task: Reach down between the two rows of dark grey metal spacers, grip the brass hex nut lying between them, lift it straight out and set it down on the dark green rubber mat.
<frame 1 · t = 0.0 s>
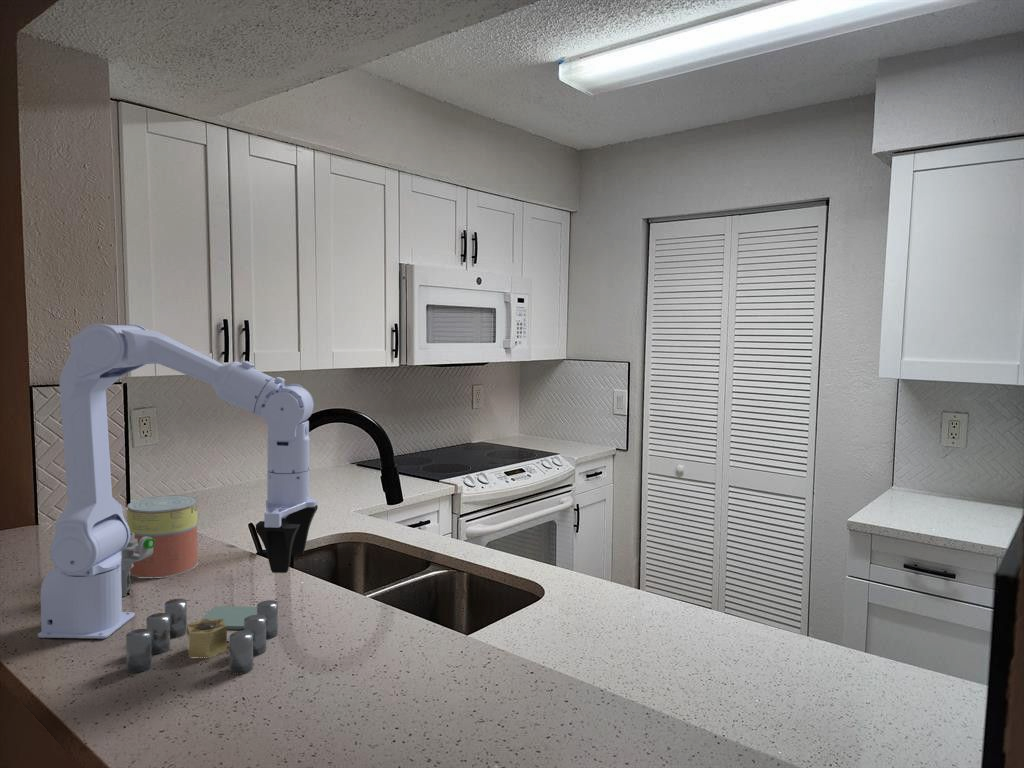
hand: (288, 562, 98), 10 cm above the table, tool pointing down, fingers open, 7 cm apart
brass nut: (207, 650, 92), on the table
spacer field: (207, 650, 92), on the table
green mat: (235, 619, 102), on the table
canned food: (163, 568, 123), on the table
mechanical component: (124, 596, 110), on the table
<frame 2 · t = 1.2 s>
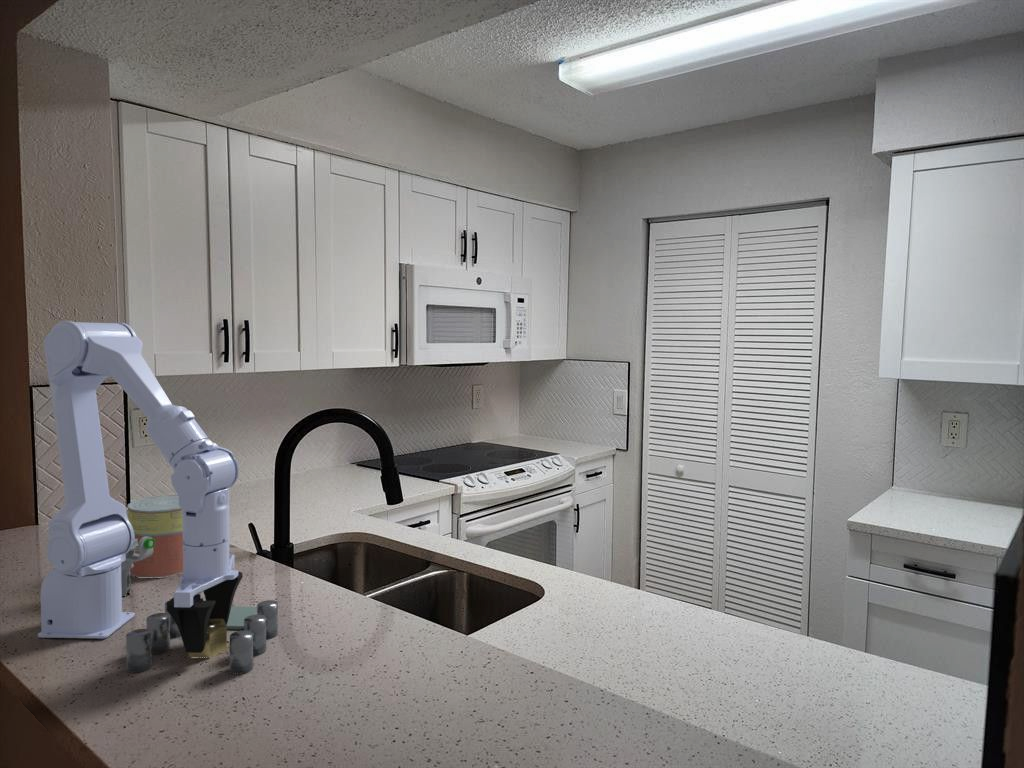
hand: (207, 638, 92), 2 cm above the table, tool pointing down, fingers open, 7 cm apart
nothing on the table moved.
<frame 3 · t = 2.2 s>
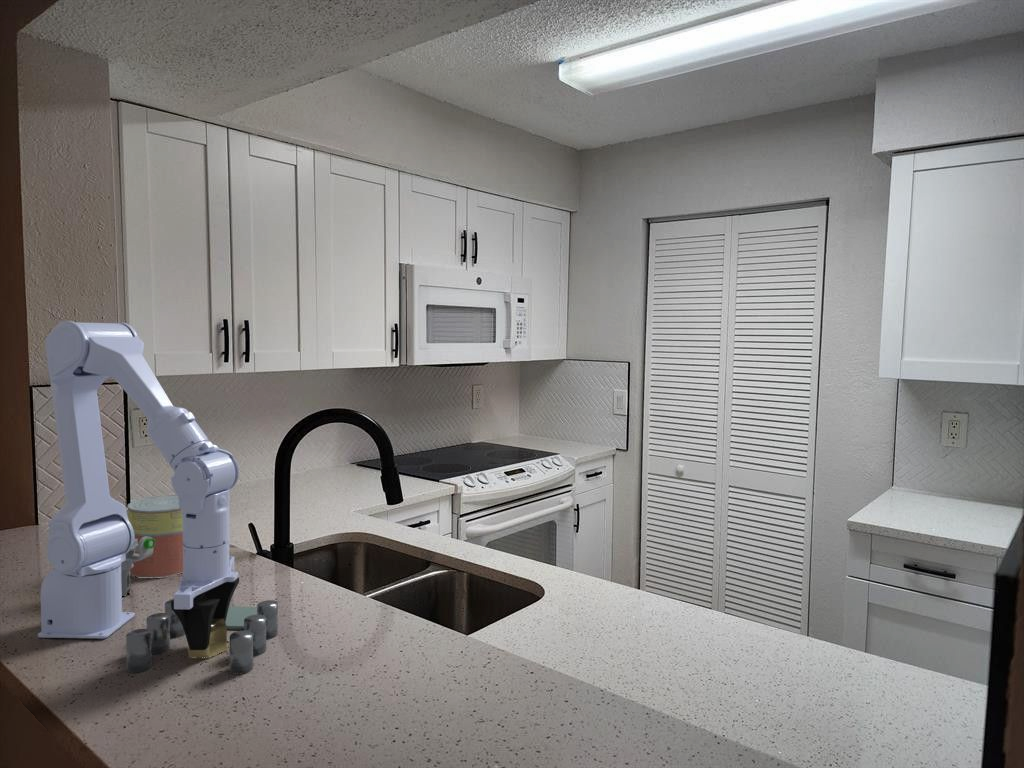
hand: (207, 640, 92), 1 cm above the table, tool pointing down, fingers closed on brass nut, 5 cm apart
brass nut: (207, 650, 92), on the table, touching gripper
everything else where it was.
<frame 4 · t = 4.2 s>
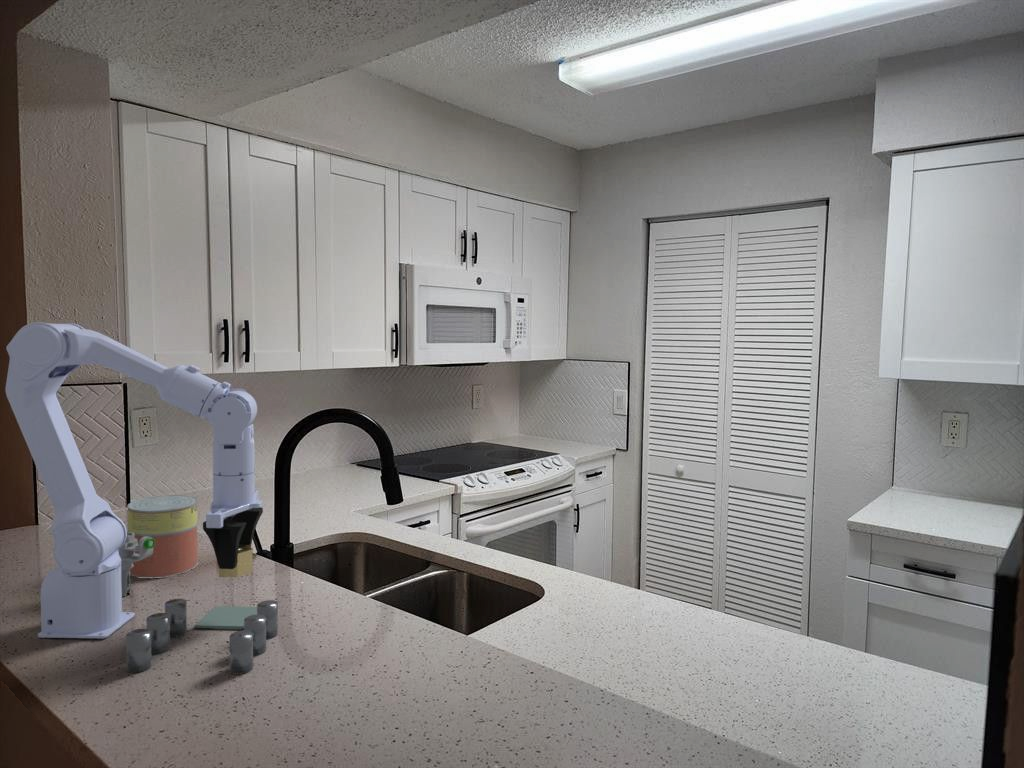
hand: (234, 562, 101), 9 cm above the table, tool pointing down, fingers closed on brass nut, 5 cm apart
brass nut: (234, 571, 101), point 7 cm above the table, touching gripper
everything else where it was.
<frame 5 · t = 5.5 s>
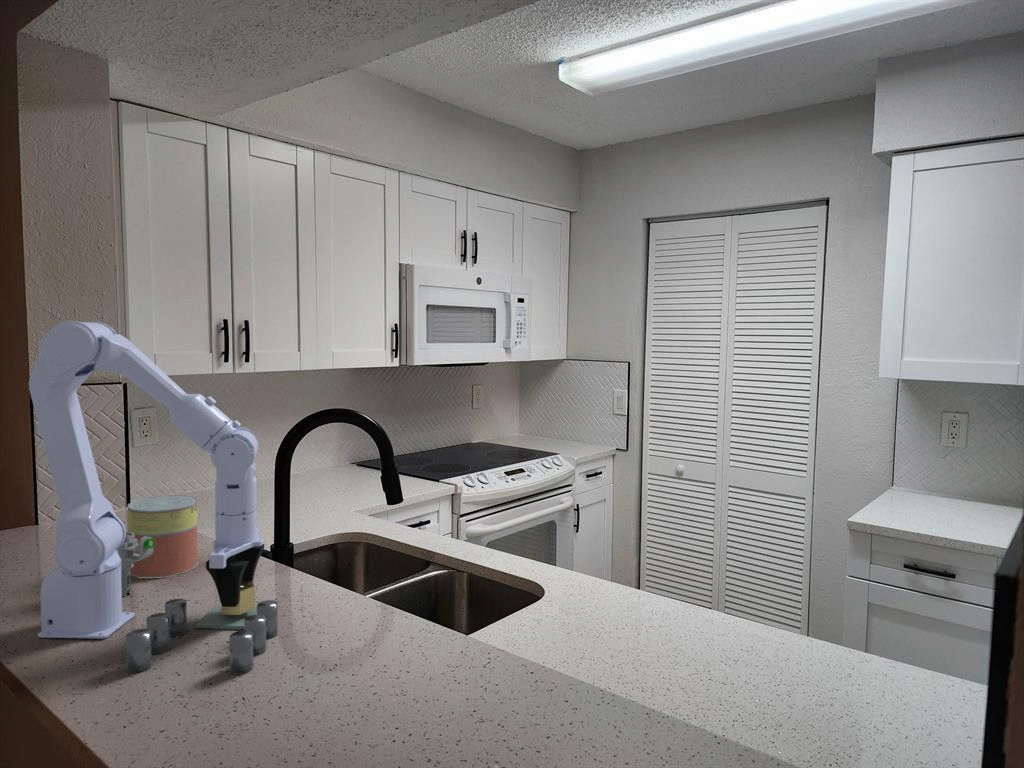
hand: (236, 599, 102), 3 cm above the table, tool pointing down, fingers closed on brass nut, 5 cm apart
brass nut: (236, 608, 102), point 1 cm above the table, touching gripper
everything else where it was.
when the fingers open (3 cm above the table, at t = 6.3 s): brass nut stays where it is, resting on green mat.
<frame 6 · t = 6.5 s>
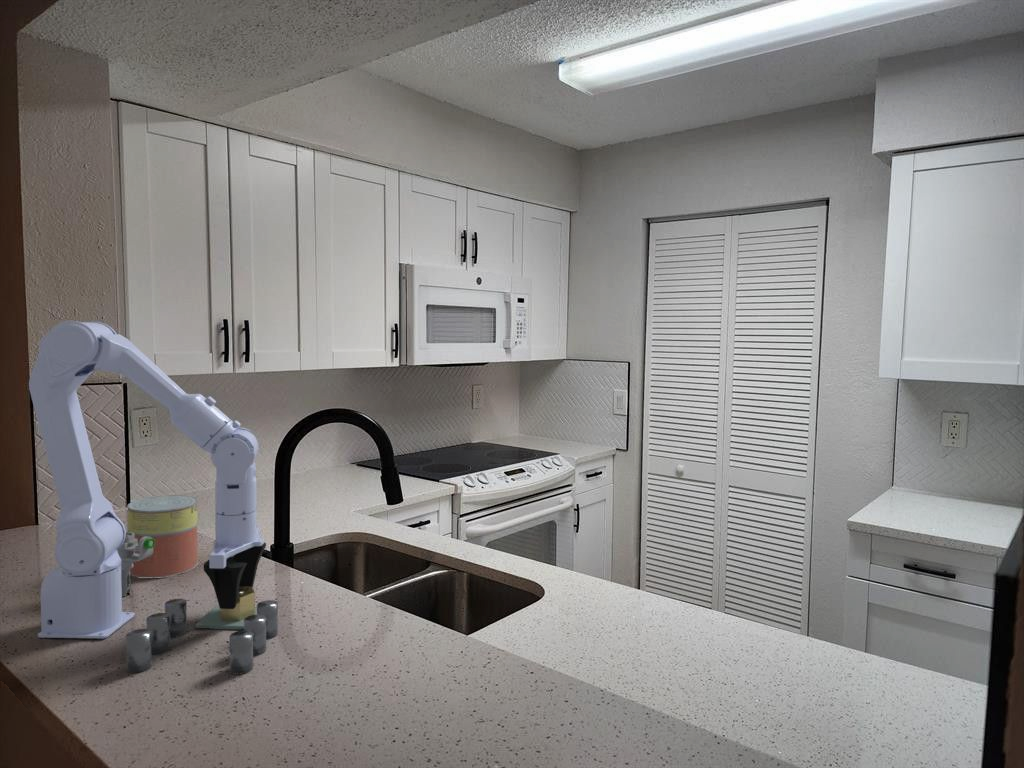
hand: (236, 599, 102), 3 cm above the table, tool pointing down, fingers open, 6 cm apart
brass nut: (237, 614, 103), resting on green mat
everything else where it was.
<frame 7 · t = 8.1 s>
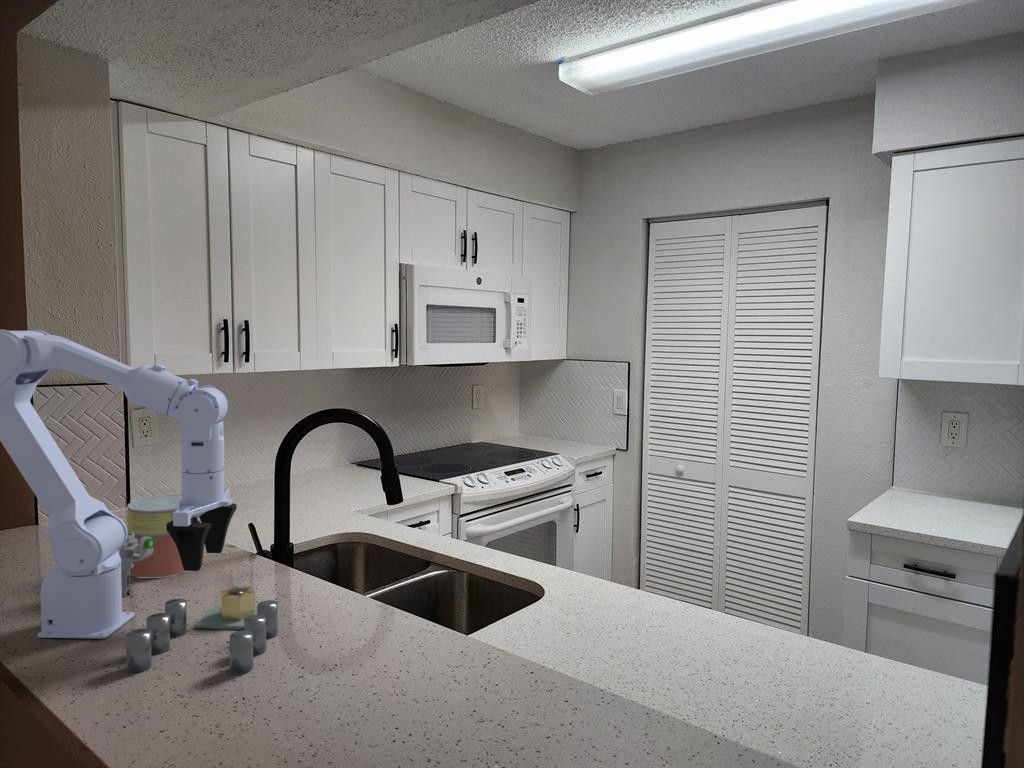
hand: (203, 561, 100), 9 cm above the table, tool pointing down, fingers open, 7 cm apart
nothing on the table moved.
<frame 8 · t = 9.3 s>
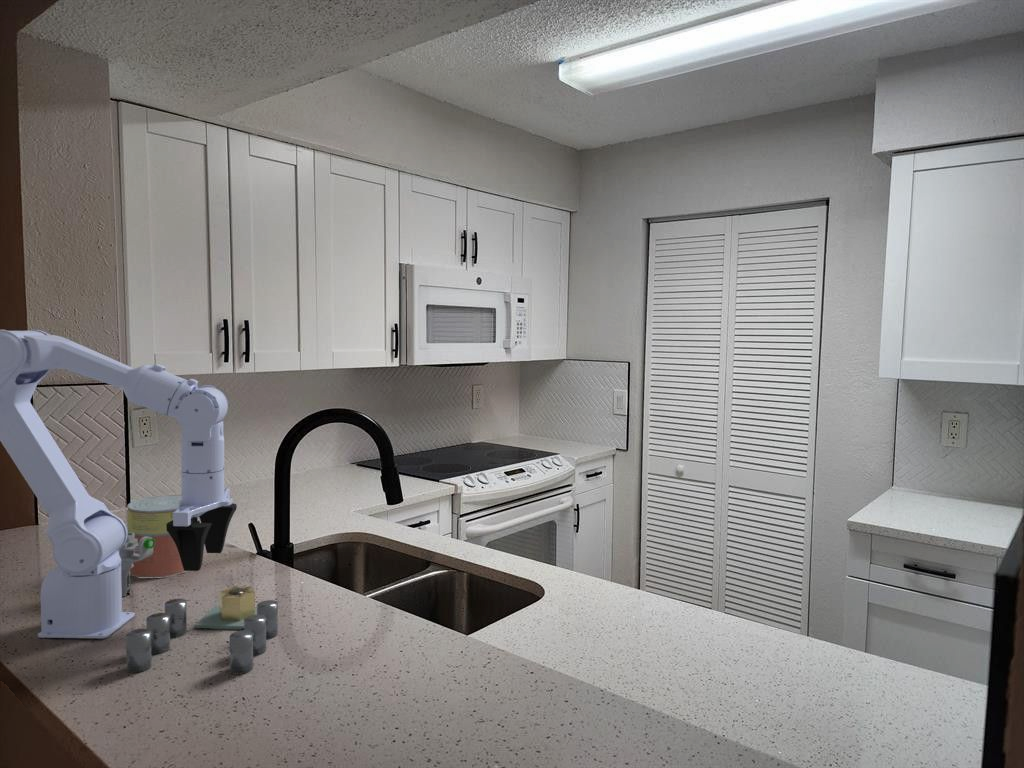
hand: (203, 561, 100), 9 cm above the table, tool pointing down, fingers open, 7 cm apart
nothing on the table moved.
at the end: brass nut 0.6 cm off-centre on the green mat, point 0.5 cm above the green mat's base; the gripper is holding nothing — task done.
